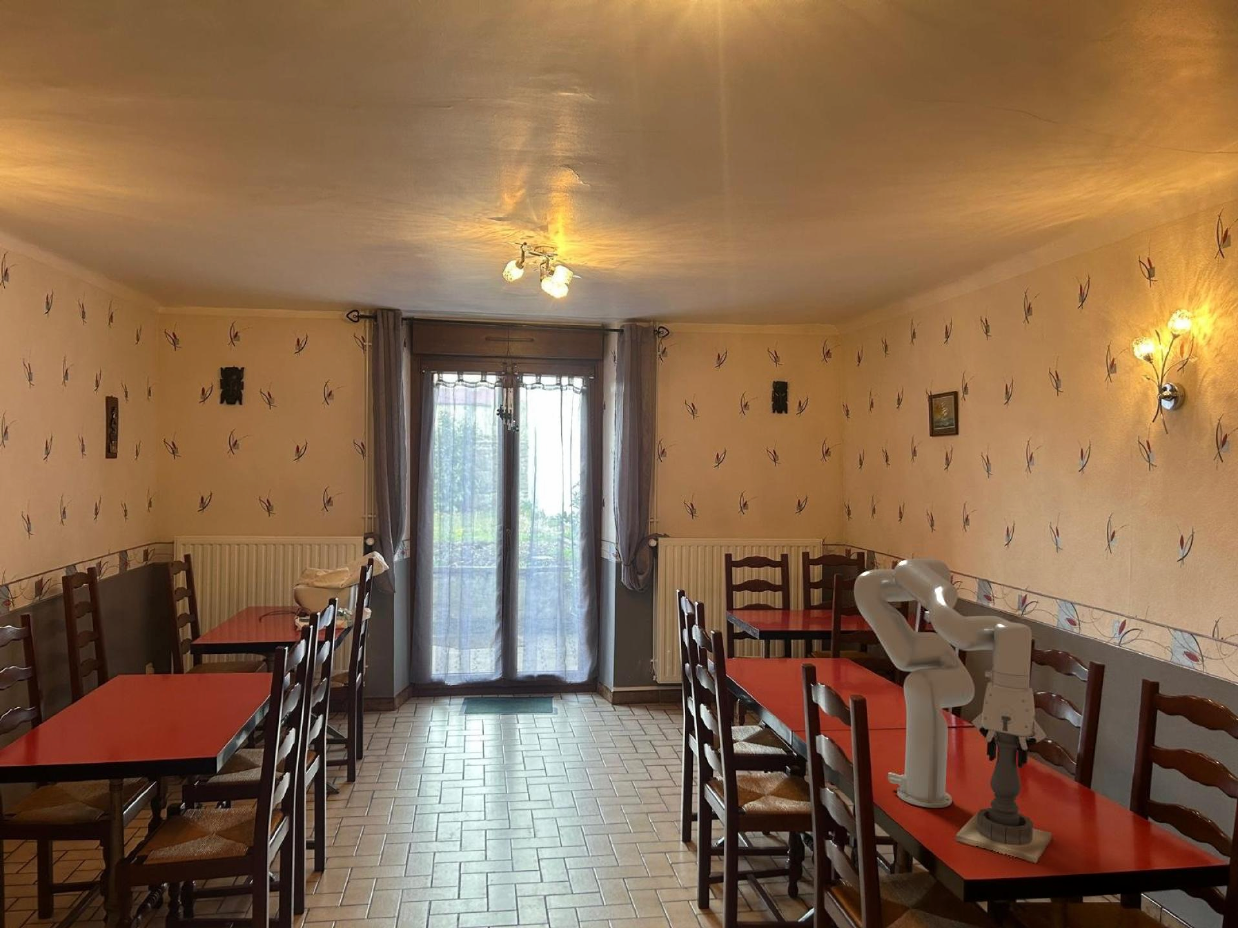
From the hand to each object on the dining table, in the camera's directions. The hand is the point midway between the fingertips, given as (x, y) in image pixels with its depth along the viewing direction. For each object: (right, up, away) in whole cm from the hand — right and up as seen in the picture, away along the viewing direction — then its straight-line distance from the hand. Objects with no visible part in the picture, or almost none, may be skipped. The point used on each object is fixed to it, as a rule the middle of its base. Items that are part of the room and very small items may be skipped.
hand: (1006, 761), depth 189 cm
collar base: (-1, -17, 0) cm, 17 cm away
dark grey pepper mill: (-1, -15, 0) cm, 15 cm away
